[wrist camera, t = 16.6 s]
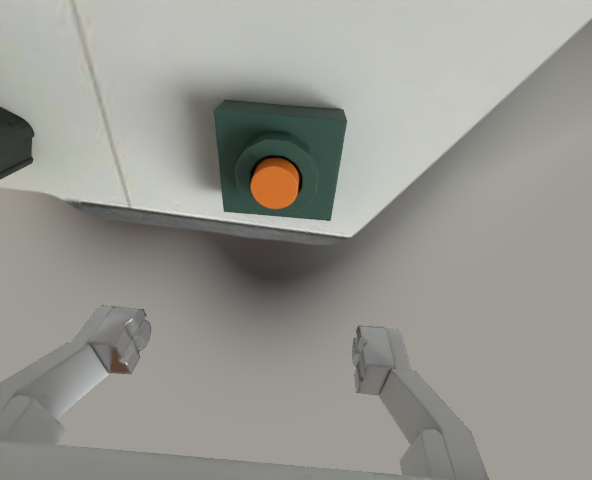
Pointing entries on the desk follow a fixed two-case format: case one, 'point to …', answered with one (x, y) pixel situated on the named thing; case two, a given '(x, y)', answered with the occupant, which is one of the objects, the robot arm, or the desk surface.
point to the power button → (275, 183)
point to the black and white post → (14, 143)
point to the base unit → (279, 154)
